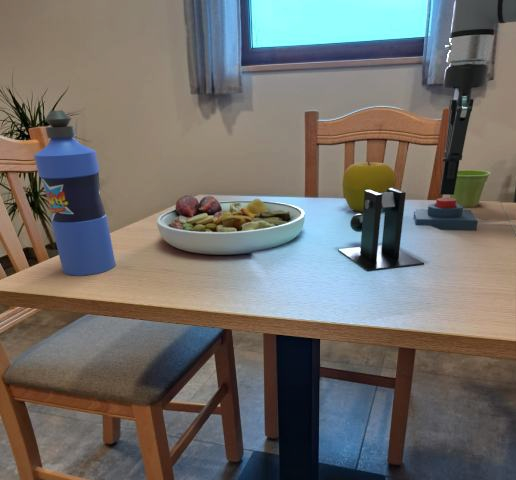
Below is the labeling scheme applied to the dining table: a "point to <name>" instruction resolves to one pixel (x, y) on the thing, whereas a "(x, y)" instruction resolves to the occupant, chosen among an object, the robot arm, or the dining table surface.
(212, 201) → the bowl
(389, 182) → the apple
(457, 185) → the plant pot
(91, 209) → the water bottle
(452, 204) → the red button
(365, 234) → the stand
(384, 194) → the switch lever
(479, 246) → the dining table surface
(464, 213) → the button box
